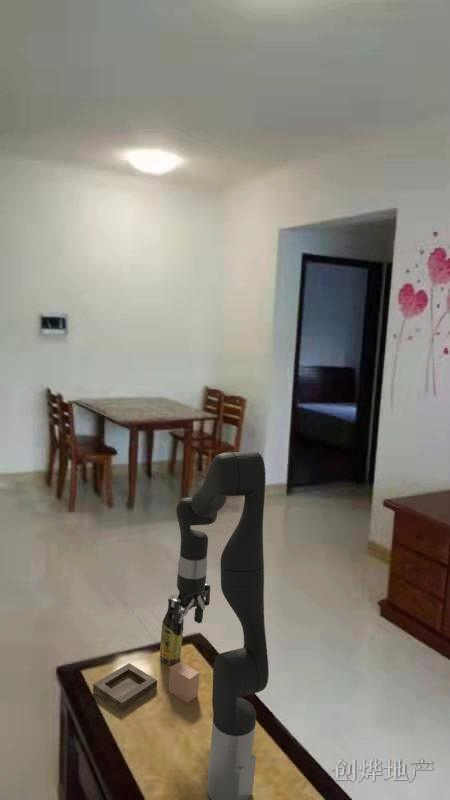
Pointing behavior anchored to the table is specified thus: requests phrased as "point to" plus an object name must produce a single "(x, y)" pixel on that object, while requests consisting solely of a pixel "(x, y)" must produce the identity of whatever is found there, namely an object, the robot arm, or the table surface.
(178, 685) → the key block
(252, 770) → the robot arm
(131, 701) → the cradle
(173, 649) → the sauce bottle
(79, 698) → the table surface
